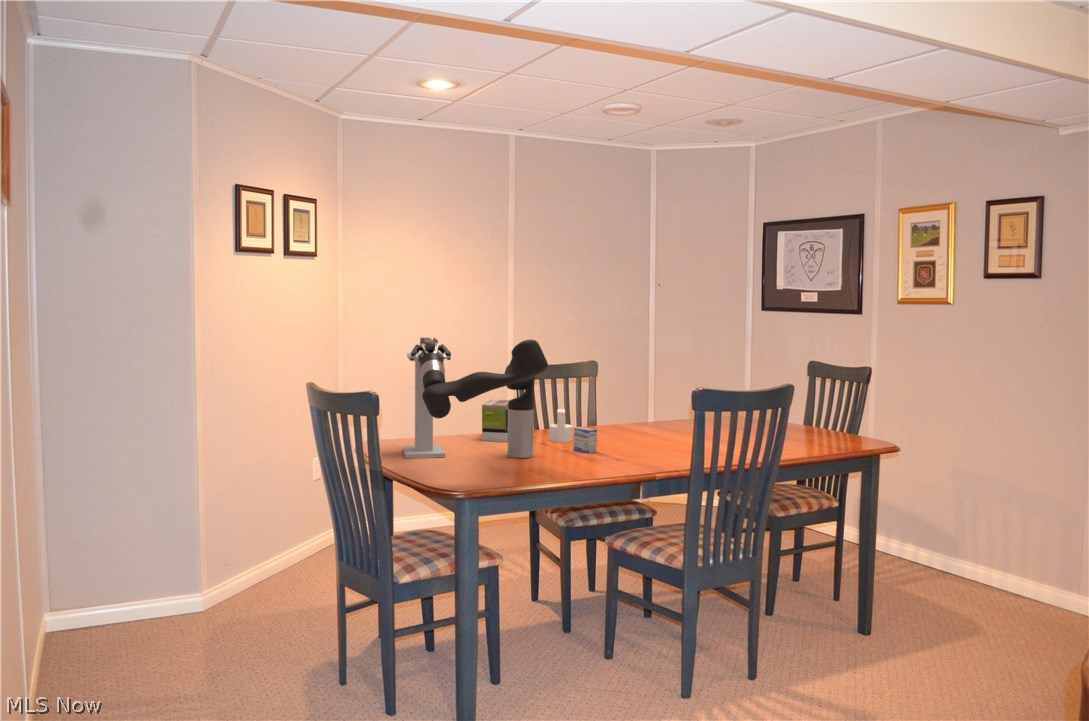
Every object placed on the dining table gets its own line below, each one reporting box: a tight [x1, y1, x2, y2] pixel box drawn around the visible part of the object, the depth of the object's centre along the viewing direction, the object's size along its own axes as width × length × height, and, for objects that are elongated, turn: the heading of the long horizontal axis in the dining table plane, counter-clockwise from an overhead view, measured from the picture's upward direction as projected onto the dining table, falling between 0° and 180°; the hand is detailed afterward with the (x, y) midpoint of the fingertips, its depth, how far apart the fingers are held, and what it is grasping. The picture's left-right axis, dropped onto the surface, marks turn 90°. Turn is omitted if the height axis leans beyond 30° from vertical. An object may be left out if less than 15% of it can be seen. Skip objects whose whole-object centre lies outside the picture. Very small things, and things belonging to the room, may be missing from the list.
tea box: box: [481, 399, 511, 443], centre depth 347 cm, size 15×10×15 cm, turn 168°
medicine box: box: [573, 426, 598, 454], centre depth 324 cm, size 8×4×9 cm, turn 47°
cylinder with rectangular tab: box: [548, 408, 573, 444], centre depth 344 cm, size 9×9×12 cm
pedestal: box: [402, 352, 446, 459], centre depth 313 cm, size 16×14×36 cm
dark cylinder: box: [419, 337, 436, 350], centre depth 296 cm, size 27×3×2 cm, turn 13°
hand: (428, 340), depth 292 cm, fingers closed on dark cylinder, 3 cm apart
